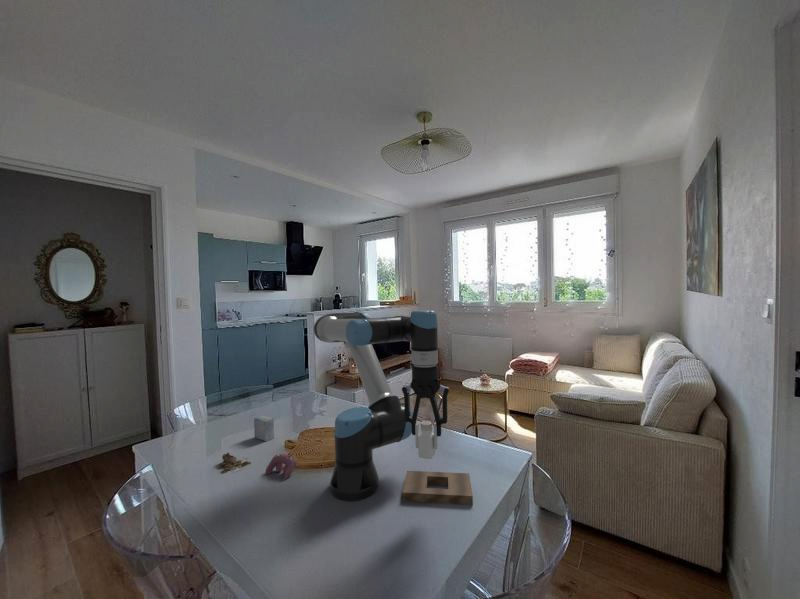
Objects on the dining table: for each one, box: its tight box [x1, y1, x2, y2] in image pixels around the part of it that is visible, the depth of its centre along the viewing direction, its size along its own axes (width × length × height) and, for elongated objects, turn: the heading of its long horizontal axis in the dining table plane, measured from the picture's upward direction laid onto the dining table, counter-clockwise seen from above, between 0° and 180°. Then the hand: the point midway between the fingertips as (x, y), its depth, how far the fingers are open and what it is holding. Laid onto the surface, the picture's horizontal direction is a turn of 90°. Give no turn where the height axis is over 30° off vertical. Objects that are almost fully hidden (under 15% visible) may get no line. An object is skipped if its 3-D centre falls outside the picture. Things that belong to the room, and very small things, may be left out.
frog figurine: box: [218, 452, 252, 473], centre depth 118 cm, size 12×12×4 cm
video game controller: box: [265, 453, 297, 480], centre depth 112 cm, size 10×5×7 cm, turn 65°
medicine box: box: [253, 414, 275, 442], centre depth 141 cm, size 8×4×9 cm, turn 58°
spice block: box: [402, 470, 474, 506], centre depth 99 cm, size 20×12×2 cm, turn 83°
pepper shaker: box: [417, 420, 436, 460], centre depth 93 cm, size 4×4×10 cm
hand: (426, 446), depth 93 cm, fingers closed on pepper shaker, 4 cm apart
